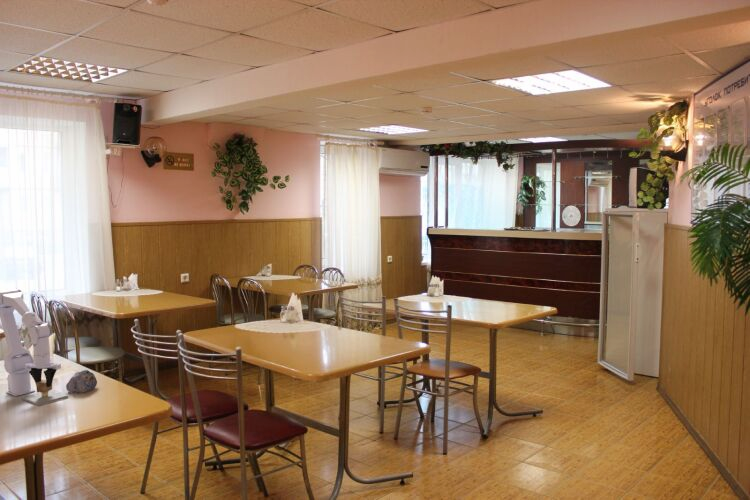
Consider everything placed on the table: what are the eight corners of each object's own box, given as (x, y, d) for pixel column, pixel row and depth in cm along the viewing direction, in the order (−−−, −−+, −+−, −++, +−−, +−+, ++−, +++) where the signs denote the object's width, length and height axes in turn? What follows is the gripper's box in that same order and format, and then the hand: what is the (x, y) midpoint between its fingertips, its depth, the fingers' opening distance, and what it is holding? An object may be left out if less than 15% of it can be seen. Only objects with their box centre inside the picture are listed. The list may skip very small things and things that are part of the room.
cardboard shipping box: (36, 392, 254) (36, 382, 253) (43, 389, 258) (42, 379, 257) (45, 392, 253) (45, 382, 253) (52, 389, 257) (51, 379, 257)
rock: (101, 380, 271) (89, 363, 266) (90, 397, 263) (78, 381, 257) (80, 383, 274) (68, 367, 268) (69, 401, 265) (56, 385, 260)
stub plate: (22, 399, 255) (21, 392, 255) (51, 391, 265) (51, 384, 265) (37, 405, 247) (37, 398, 247) (68, 397, 256) (67, 390, 256)
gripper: (64, 351, 257) (66, 383, 258) (32, 350, 259) (34, 382, 260) (53, 355, 250) (56, 388, 251) (20, 355, 252) (22, 388, 253)
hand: (44, 386), depth 255 cm, fingers closed on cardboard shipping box, 4 cm apart
